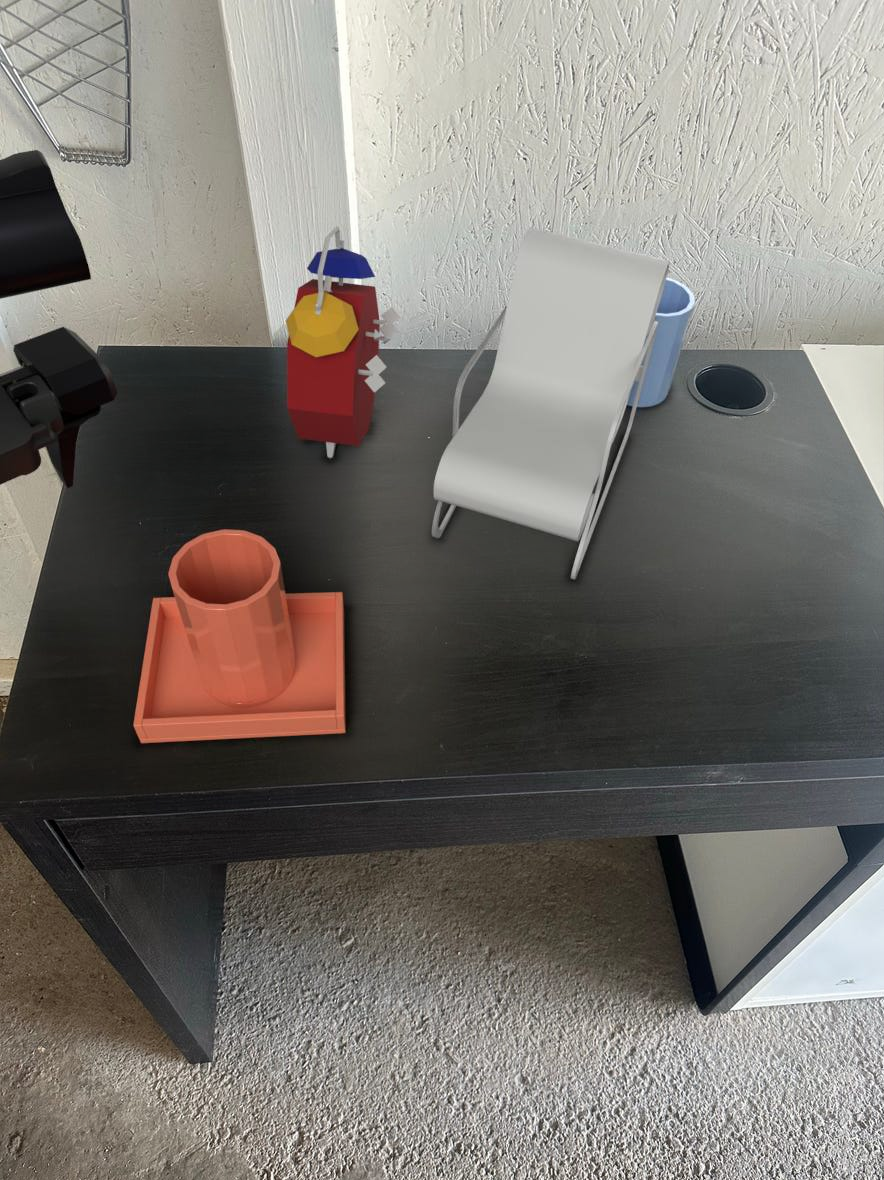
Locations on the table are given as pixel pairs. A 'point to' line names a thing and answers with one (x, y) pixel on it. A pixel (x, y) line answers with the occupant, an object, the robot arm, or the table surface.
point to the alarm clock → (335, 349)
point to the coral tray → (190, 713)
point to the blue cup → (665, 344)
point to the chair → (554, 388)
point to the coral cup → (235, 616)
